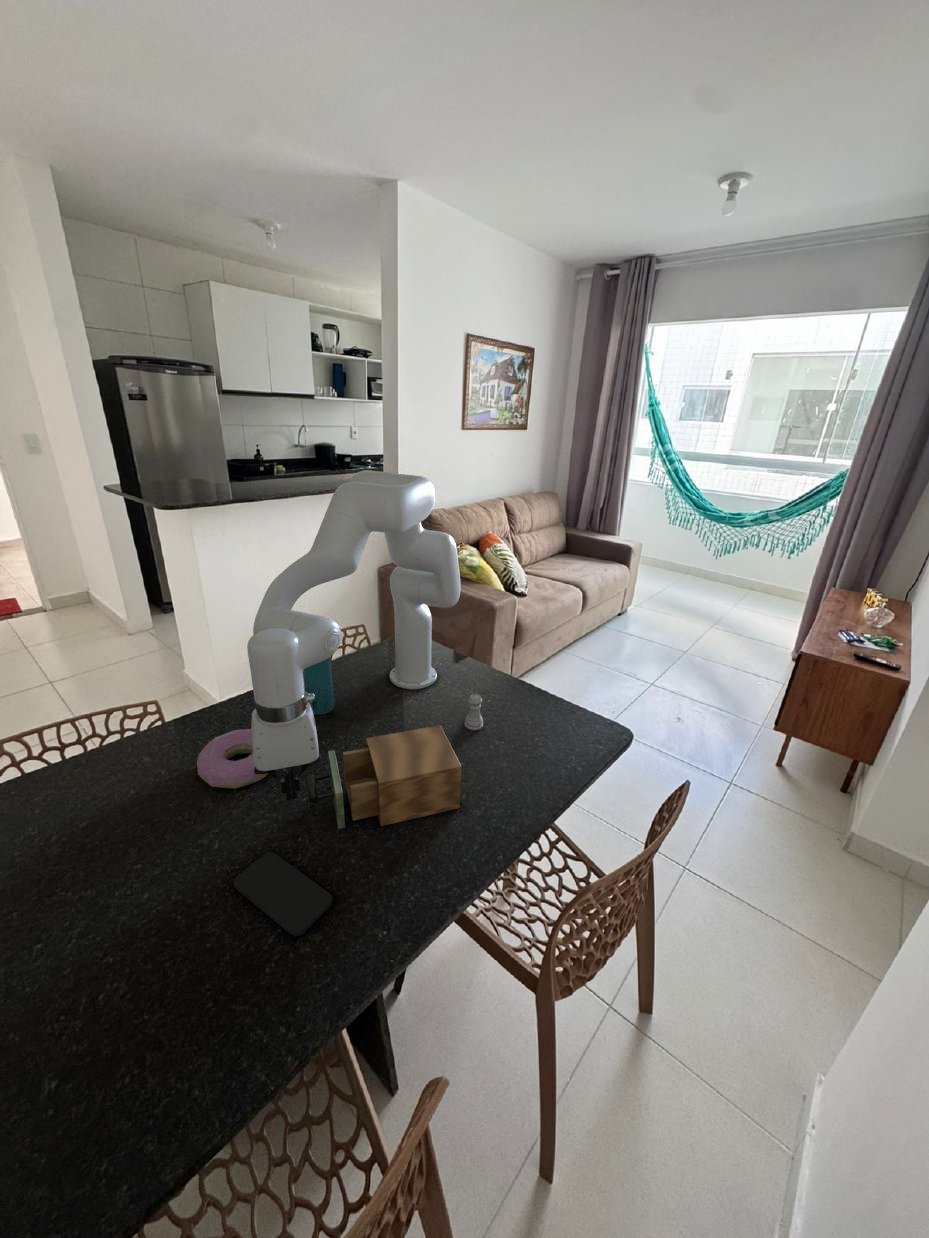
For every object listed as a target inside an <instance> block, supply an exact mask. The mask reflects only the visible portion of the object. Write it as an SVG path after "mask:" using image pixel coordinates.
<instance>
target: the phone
mask: <svg viewBox="0 0 929 1238" xmlns="http://www.w3.org/2000/svg"><path fill="white" fill-rule="evenodd" d="M232 883H233V887H234V889H235V890H236V891H237V892H239V893H240V894H241V895H242V896H243V897H245V898H246V899H247V900H249V902H250V903H252V904H253V905H254V906H256V907H257V908H258V909H259V910H260V911H262V912H263V913H264V914H265V915H267V916H268V917H269V918H270V919H271V920H273V921H274V922H275V923H276V924H277V925H278V926H279V927H281V928H282V929H283V930H285V931H286V932H287V933H288V934H289V935H291V936H292V937H300V936H302V935H303V934H304V933H305V932H306V931H308V929H309V928H310V927H311V926H312V925H313V924H315V922H316V921H318V920H319V918H320V917H322V915H323V914H325V912H326V911H327V910H328V909H329V908H330V907H331V906H332V904H333V895H332V894H331V893H330V892H329V891H328V890H326V889H325V888H323V887H322V886H321V885H320V884H318V883H316V882H315V881H313V880H312V879H311V878H309V877H308V876H307V875H305V874H304V873H303V872H301V871H300V870H299V869H297V867H296V868H295V866H293V865H291V864H290V863H289V862H288V861H287V860H285V859H284V858H283V857H280V856H279V855H278V854H277V853H275V852H272V851H269V852H266V853H264V854H263V855H261V856H260V857H259V858H258V859H256V860H255V861H254V862H252V863H251V864H250V865H249V866H247V868H245V869H244V870H243V871H241V872H240V873H239V874H237V876H235V877H234V879H233V882H232Z"/></svg>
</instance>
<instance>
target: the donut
mask: <svg viewBox="0 0 929 1238" xmlns="http://www.w3.org/2000/svg"><path fill="white" fill-rule="evenodd" d="M246 754H249V755H248V756H247V757H244V758H241V759H238V760H230V759H232V758H233V757H235V756H237V755H246ZM254 765H255V764H254V758H253V748H252V733H251V728H243V729H235V730H231V731H228V732H226V733H224V734H221V735H218V736H215V737H214V738H213V739H211V740H210V741H209V742H207V744H205V746H204V747H203V748H202V750H201V751H200V752H199V753H198V755H197V759H196V768H197V769H196V770H197V775H198V776H199V777H200V778H201V779H202V780H203V781H204V782H205V783H206V784H208V785H209V786H210V787H212V788H222V789H234V790H236V789H239V788H242V787H245V786H248V785H251V784H254V783H256V782H259V781H261V780H262V779H265V778H266V777H267V776H268V775H269V774H255V773H254Z"/></svg>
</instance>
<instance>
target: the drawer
mask: <svg viewBox="0 0 929 1238" xmlns="http://www.w3.org/2000/svg"><path fill="white" fill-rule="evenodd" d="M327 756H328V769H329V773H324V774H318V775H314V774H312V773H311V774H308V775H307V776H306V784H307V793H308V794H307V795H308V802H309V803H310V804H312V805H313V804H316V803H317V802H318V801H321V800H325V799H328V798H329V799H330V798H332V800H333V806H334V812H335V819H336V825H337V829H338V830H342V829H345V828H346V820H345V819H346V817H345V807H344V806H345V805H344V793H343V786H342V781H341V777H340V772H339V766H338V762H337V757H336V751H335V749H332V750H327ZM342 759H343V774H344V775H343V776H344V777H343V778H344V786H345V790H346V795H347V800H348V801H347V802H348V804H349V810H350V814H351V820H352V822H354V821H355V822H356V821H359V820H364V819H367V818H373V817H376V816H377V817H378V815H379V792H378V781H377V777H376V774H375V770H374V767H373V763H372V760H371V756H370V753H369V749H368V748H367V747H364V748H360V749H354V750H348V751H342ZM326 779H329V781H330V789H331V792H326V793H320V794H318V792H317V791H318V790H317V784H316V781H320V780H326Z"/></svg>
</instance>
